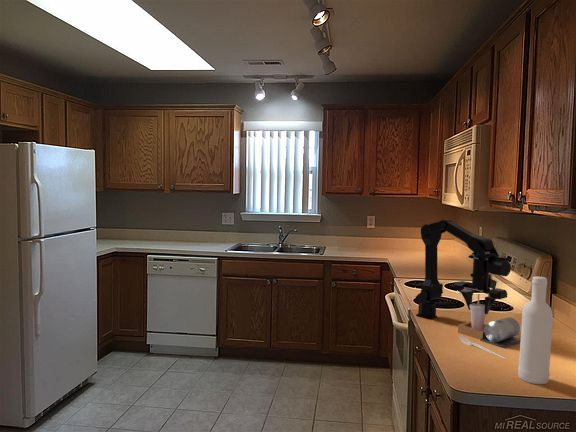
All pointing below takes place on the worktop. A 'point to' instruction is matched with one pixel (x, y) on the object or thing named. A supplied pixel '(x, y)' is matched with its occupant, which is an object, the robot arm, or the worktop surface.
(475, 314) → the white cup with straw
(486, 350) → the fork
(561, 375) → the worktop surface
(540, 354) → the bottle
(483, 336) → the motor unit
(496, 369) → the worktop surface
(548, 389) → the worktop surface
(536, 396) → the worktop surface
